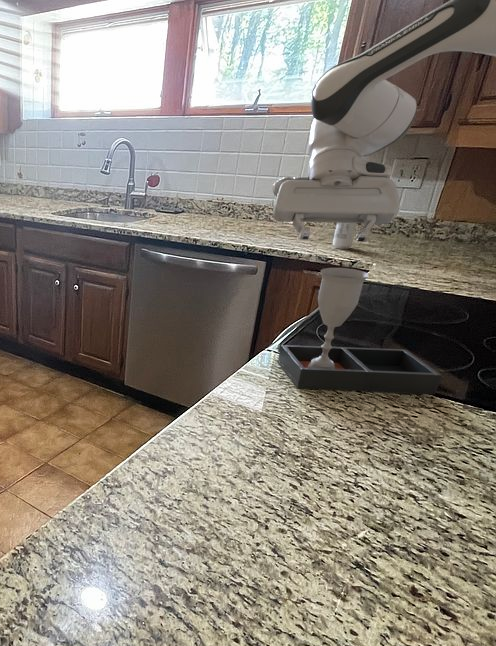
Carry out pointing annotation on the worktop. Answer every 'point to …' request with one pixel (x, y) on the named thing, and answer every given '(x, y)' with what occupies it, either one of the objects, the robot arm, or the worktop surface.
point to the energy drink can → (344, 235)
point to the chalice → (336, 305)
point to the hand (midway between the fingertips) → (333, 238)
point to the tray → (359, 370)
